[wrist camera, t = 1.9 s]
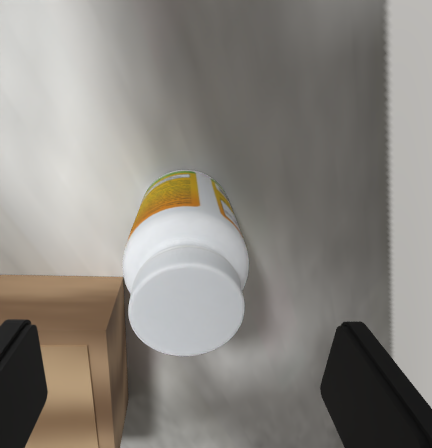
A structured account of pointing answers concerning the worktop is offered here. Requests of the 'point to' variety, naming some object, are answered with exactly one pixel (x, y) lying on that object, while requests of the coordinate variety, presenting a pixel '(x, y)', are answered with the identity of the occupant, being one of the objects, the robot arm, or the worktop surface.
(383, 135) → the worktop surface
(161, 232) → the supplement bottle
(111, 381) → the pedestal
